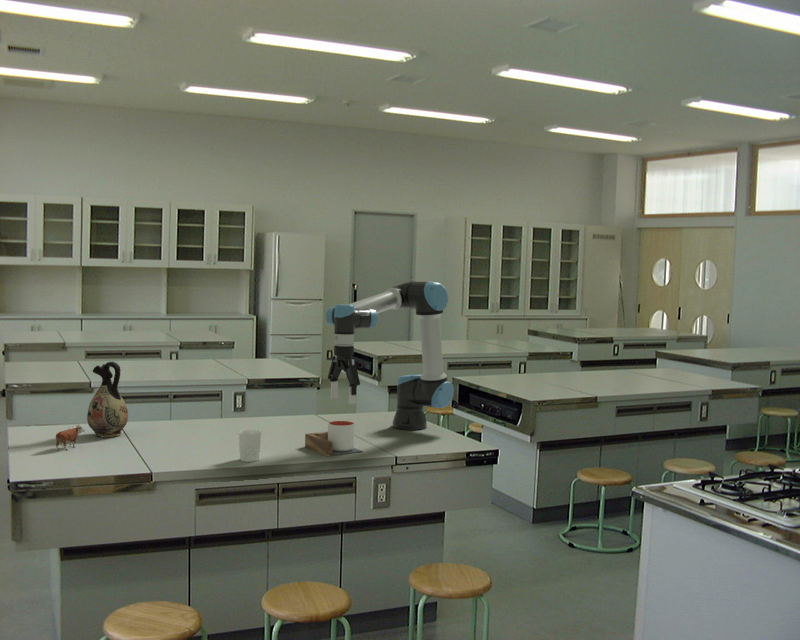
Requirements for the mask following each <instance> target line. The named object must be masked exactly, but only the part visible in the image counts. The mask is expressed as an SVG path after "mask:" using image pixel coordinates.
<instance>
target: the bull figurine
mask: <svg viewBox="0 0 800 640" xmlns="http://www.w3.org/2000/svg"><path fill="white" fill-rule="evenodd" d="M85 431H86V429H85V428H84V426H83V425H81V424H77V425H73V426H72V427H70V428H68V429H65V430H61V431H58V432H57V433H56V435H55V440H56V443H55V450H56V449H59V445H61V448H62V449H64V450H65V449H69V448H68V447H67V445H68V443H69V446H70V445H73V447H76V442H77V438H78V436H79V435H80V434H81V433H82V432H83V433H85ZM73 447H72V448H73Z"/></svg>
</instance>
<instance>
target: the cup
mask: <svg viewBox="0 0 800 640" xmlns="http://www.w3.org/2000/svg"><path fill="white" fill-rule="evenodd" d="M355 425H356V424H355V422H353V421H349V420H334V421H329V422H328V423H327V432H328V441H331V442H333V444H332V451H339V452H344V451H350V450H352V449H353V448H355V430H356V429H355V428H356V427H355Z"/></svg>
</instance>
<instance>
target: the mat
mask: <svg viewBox="0 0 800 640" xmlns="http://www.w3.org/2000/svg"><path fill="white" fill-rule="evenodd" d="M358 453H363V450H361V449H358V448H356V447H354V448H353V449H352V450H350V451H344V452H339V451H332V456H341V455H347V454H348V455H349V454H358Z"/></svg>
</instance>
